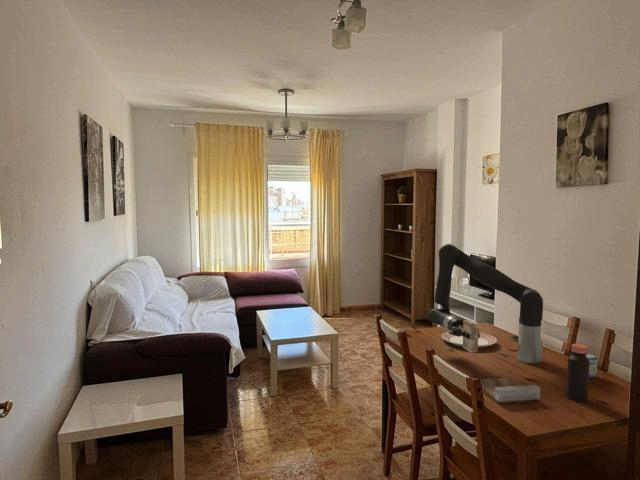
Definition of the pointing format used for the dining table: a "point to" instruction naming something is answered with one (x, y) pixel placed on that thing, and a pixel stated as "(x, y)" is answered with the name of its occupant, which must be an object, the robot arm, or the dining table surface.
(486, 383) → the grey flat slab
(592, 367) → the medicine box
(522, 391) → the metal rail
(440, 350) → the dining table surface
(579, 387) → the bottle
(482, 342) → the dinner plate
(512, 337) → the phone
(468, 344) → the cream tall block
